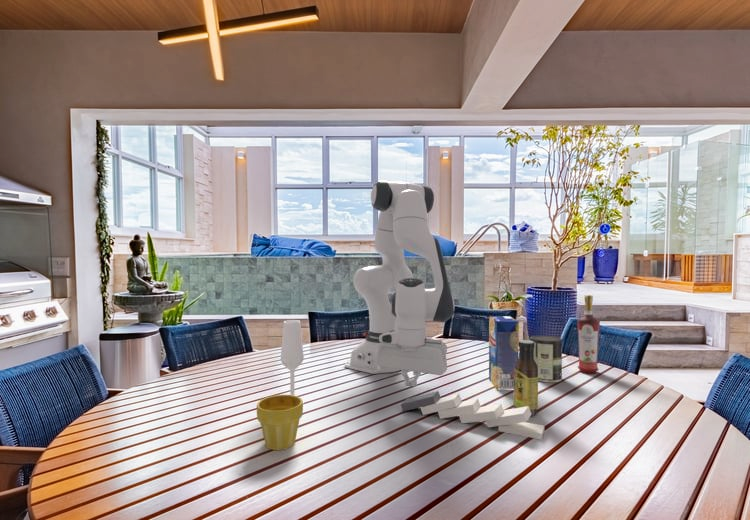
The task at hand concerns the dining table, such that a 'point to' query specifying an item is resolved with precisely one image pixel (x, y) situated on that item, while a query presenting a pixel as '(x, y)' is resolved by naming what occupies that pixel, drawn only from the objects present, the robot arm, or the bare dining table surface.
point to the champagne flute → (292, 349)
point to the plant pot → (279, 420)
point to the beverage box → (503, 350)
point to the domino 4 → (483, 414)
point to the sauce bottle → (526, 378)
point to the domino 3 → (461, 409)
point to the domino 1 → (420, 401)
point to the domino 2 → (442, 404)
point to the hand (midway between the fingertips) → (410, 386)
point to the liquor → (588, 339)
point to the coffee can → (548, 357)
